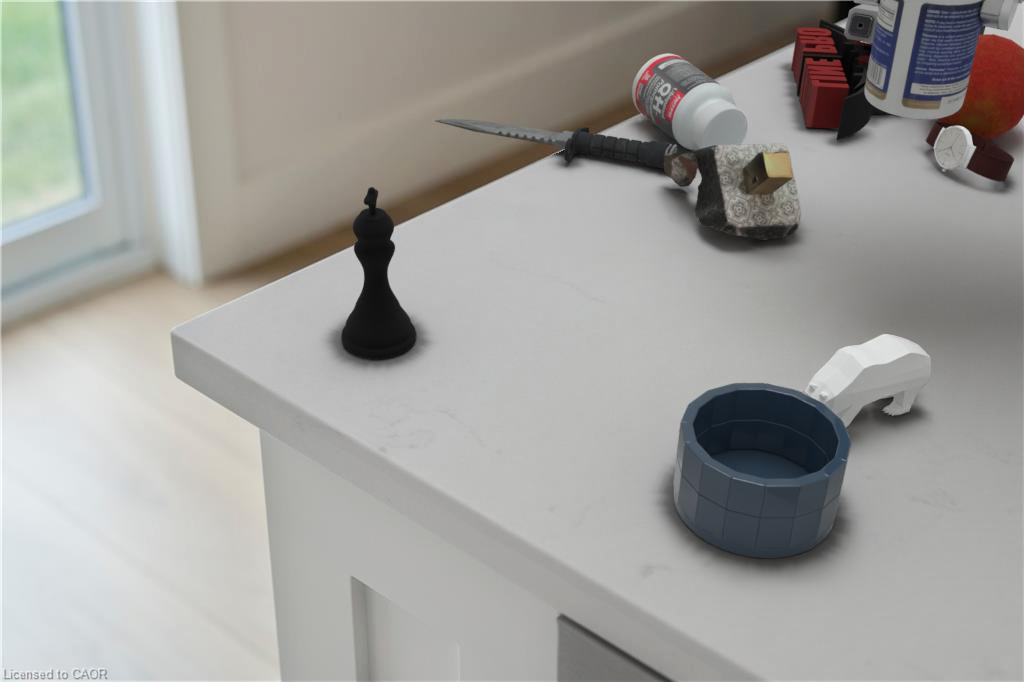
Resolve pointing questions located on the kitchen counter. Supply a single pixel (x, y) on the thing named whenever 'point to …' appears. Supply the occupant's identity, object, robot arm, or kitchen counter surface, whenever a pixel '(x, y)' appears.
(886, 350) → the white low-poly animal
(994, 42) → the apple
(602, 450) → the kitchen counter surface
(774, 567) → the kitchen counter surface
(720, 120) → the pill bottle
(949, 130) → the watch
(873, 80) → the pill bottle
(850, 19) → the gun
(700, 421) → the bowl
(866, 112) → the extruded letter emblem
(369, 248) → the chess piece
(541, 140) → the knife
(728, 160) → the grey patterned lump
